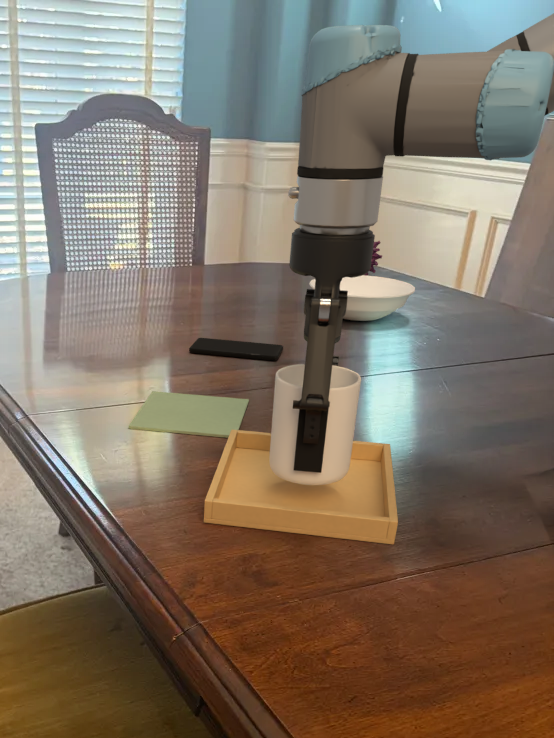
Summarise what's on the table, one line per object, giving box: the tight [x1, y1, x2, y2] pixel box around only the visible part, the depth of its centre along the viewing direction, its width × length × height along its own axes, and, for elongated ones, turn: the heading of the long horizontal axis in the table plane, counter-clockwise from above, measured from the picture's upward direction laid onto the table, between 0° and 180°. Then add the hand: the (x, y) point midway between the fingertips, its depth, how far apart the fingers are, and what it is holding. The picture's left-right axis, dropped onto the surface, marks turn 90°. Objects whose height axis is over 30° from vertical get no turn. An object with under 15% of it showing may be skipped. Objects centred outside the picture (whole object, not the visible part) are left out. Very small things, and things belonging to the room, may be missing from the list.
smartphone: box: [188, 337, 284, 362], centre depth 130 cm, size 7×1×15 cm
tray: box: [203, 429, 399, 545], centre depth 84 cm, size 19×20×2 cm
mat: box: [128, 390, 250, 439], centre depth 104 cm, size 14×14×1 cm
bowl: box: [308, 275, 416, 322], centre depth 149 cm, size 20×20×6 cm
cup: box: [269, 363, 362, 485], centre depth 80 cm, size 8×12×10 cm
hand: (310, 446), depth 81 cm, fingers closed on cup, 12 cm apart
